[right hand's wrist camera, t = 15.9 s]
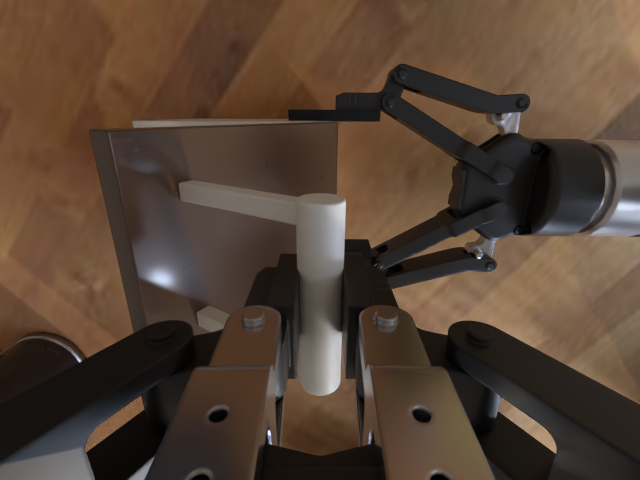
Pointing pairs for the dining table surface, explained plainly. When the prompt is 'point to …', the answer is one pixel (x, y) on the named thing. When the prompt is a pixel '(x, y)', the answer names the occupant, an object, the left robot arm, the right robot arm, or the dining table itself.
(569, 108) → the dining table surface
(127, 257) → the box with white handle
